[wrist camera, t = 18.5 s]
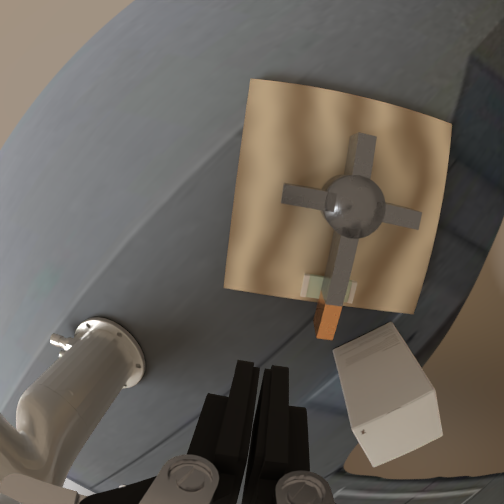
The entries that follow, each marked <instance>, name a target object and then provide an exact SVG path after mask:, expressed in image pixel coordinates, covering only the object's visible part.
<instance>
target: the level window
mask: <svg viewBox="0 0 504 504" xmlns="http://www.w3.org/2000/svg"><path fill="white" fill-rule="evenodd" d="M323 279H324V276H320V275H313V274H307V273H304V278H303V283H302V288H301V293H300V296H301V297H309V298H317V299H319V296H320V292H321V287H322V283H323ZM356 287H357V281H354V280H349V283H348V287H347V291H346V295H345V298H344V302H346V303H351V304H352V302H353V299H354V295H355V291H356Z"/></svg>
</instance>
